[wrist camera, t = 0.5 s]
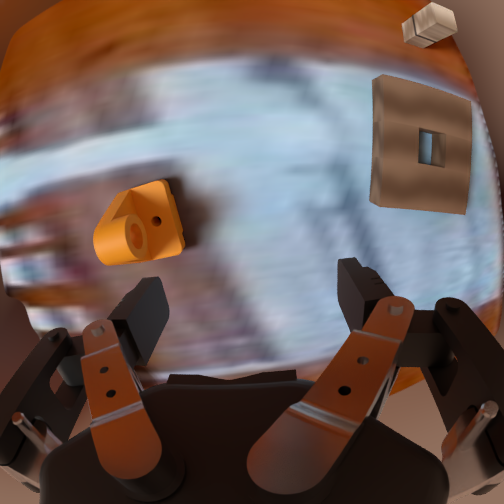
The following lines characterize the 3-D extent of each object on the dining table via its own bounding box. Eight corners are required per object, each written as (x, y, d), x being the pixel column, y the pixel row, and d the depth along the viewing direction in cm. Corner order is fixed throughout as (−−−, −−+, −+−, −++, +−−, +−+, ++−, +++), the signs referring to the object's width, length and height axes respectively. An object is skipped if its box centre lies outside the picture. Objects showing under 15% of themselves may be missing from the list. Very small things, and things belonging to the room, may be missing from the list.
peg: (401, 23, 27) (431, 1, 17) (420, 30, 27) (453, 11, 17) (404, 42, 28) (436, 22, 19) (423, 48, 28) (458, 32, 19)
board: (371, 80, 31) (382, 74, 27) (456, 103, 31) (470, 101, 27) (369, 201, 38) (379, 206, 34) (451, 208, 37) (465, 214, 33)
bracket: (188, 247, 41) (162, 284, 30) (146, 256, 42) (111, 292, 31) (168, 176, 38) (132, 190, 26) (126, 190, 38) (81, 208, 27)
